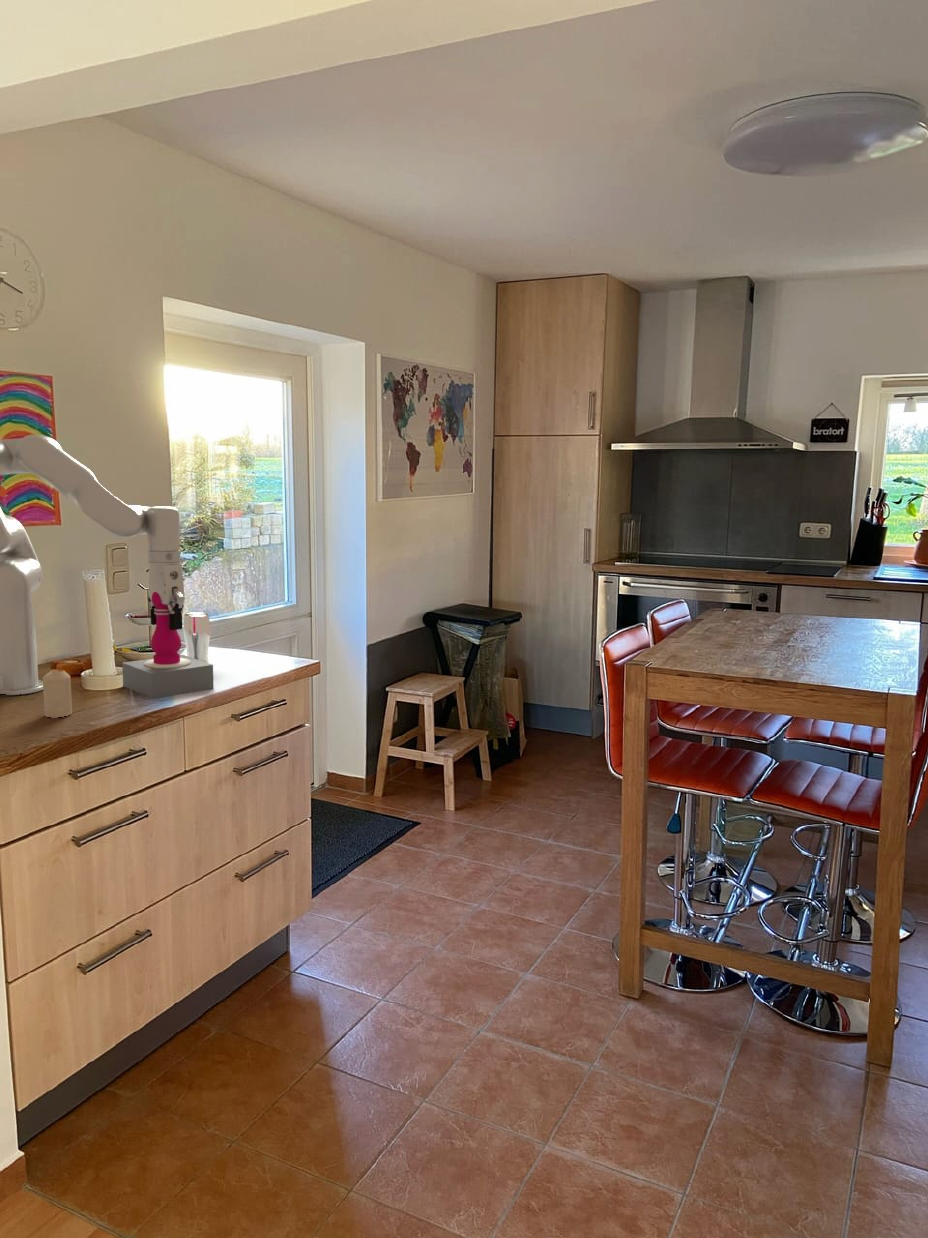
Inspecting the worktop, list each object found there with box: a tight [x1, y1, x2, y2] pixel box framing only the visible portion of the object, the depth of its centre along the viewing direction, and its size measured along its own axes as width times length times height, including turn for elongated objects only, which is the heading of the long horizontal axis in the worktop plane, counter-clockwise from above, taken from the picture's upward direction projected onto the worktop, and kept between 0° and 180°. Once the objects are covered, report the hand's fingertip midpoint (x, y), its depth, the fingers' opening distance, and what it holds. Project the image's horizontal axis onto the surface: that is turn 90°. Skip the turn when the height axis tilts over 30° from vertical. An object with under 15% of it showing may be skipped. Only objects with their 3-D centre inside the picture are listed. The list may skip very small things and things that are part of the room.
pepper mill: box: [150, 592, 182, 664], centre depth 222 cm, size 7×7×20 cm
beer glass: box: [182, 612, 211, 663], centre depth 245 cm, size 7×7×15 cm
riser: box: [121, 654, 215, 699], centre depth 224 cm, size 16×16×6 cm
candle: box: [42, 668, 73, 719], centre depth 196 cm, size 6×6×10 cm
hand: (166, 626), depth 222 cm, fingers open, 9 cm apart
